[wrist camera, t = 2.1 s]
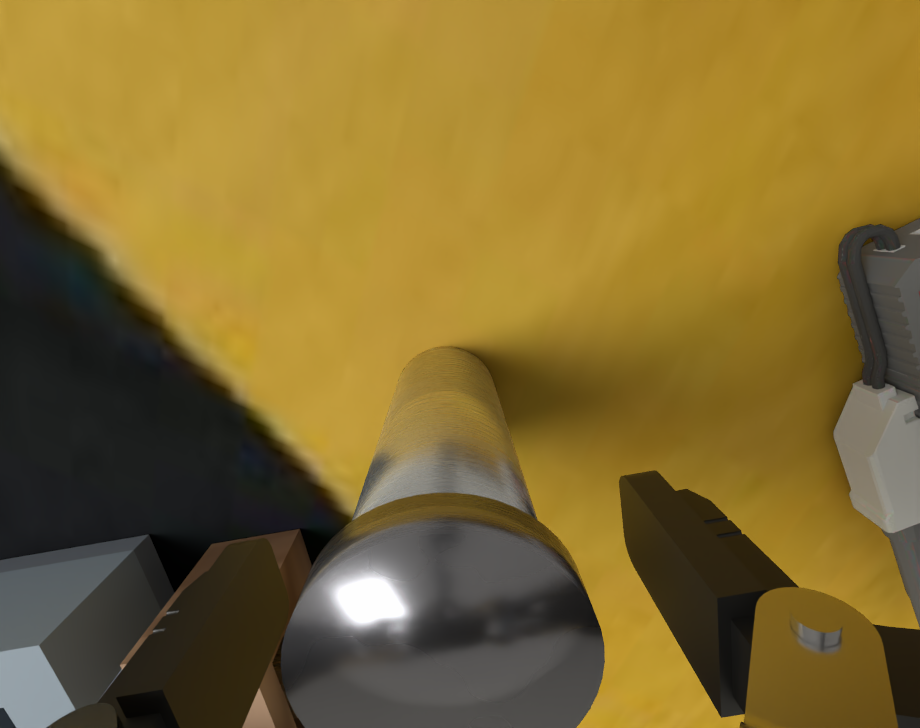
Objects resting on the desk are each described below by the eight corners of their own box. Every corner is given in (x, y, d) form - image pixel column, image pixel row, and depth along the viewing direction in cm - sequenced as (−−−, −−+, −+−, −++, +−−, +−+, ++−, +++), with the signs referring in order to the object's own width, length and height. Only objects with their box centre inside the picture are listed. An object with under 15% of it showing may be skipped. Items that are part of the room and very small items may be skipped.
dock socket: (-70, 572, 20) (-258, 694, 15) (148, 534, 20) (39, 645, 14) (30, 732, 23) (-97, 884, 17) (222, 701, 22) (153, 845, 17)
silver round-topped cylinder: (374, 348, 18) (236, 566, 6) (495, 326, 17) (588, 506, 6) (400, 456, 19) (328, 804, 7) (512, 437, 19) (616, 759, 7)
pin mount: (211, 544, 20) (119, 664, 14) (299, 529, 20) (241, 644, 14) (265, 678, 22) (204, 828, 16) (344, 665, 22) (309, 812, 16)
